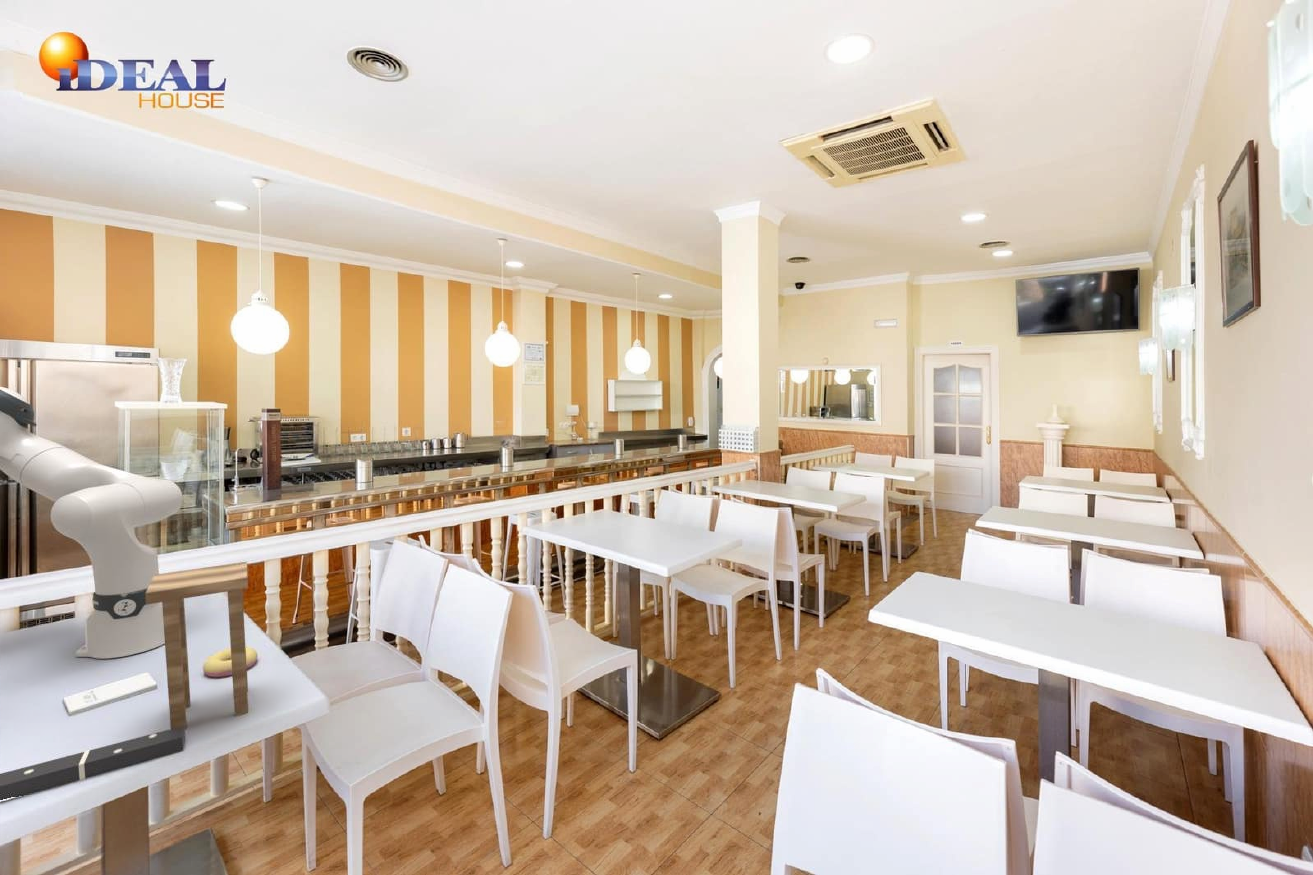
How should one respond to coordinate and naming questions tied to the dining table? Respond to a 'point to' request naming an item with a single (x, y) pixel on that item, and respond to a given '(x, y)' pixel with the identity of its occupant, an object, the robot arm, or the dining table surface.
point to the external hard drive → (109, 693)
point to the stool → (172, 596)
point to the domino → (90, 763)
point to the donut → (226, 662)
